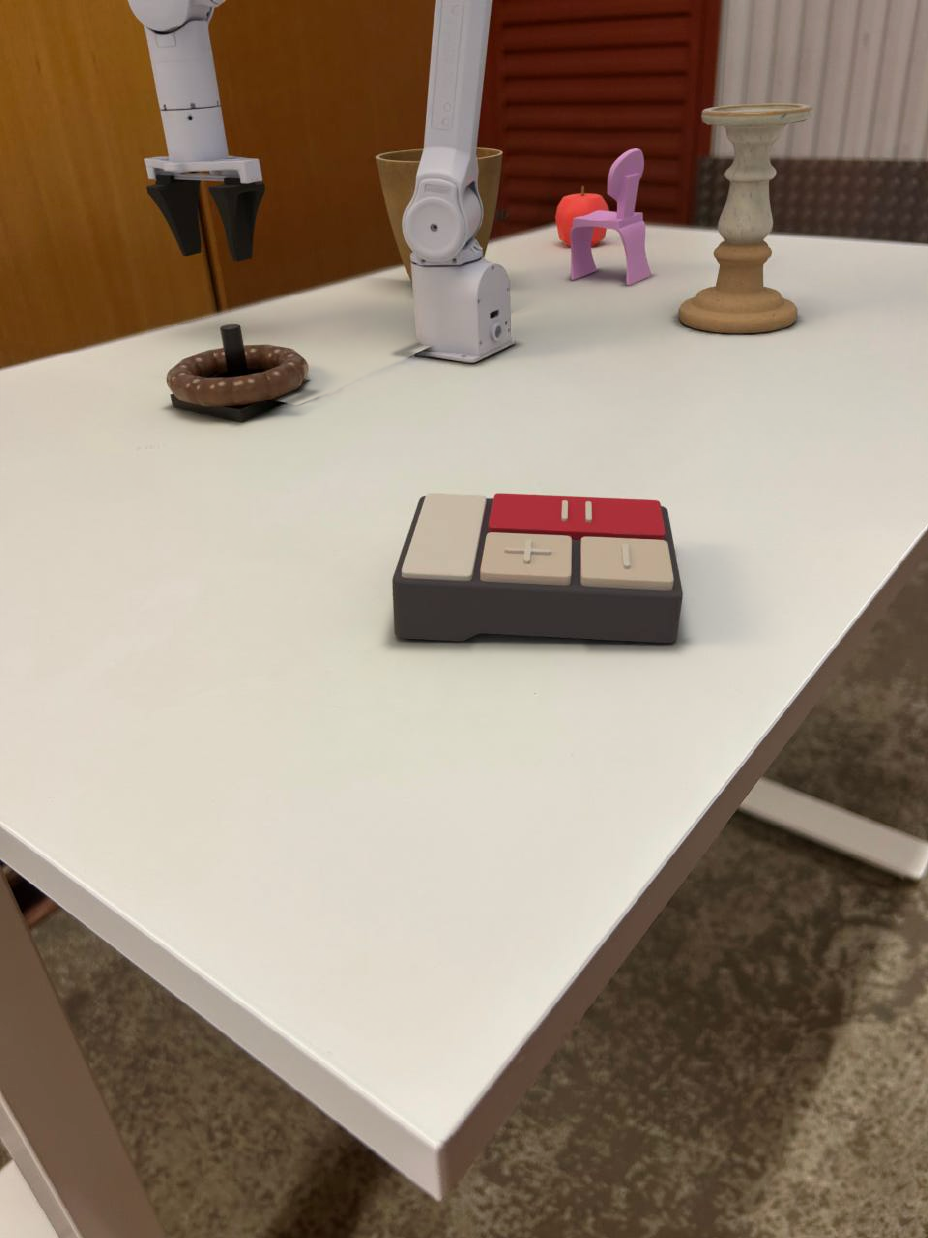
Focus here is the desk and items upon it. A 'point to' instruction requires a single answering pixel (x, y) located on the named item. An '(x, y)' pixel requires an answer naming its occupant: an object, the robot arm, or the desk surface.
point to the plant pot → (400, 187)
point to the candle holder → (745, 226)
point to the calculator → (538, 569)
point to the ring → (200, 388)
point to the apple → (579, 214)
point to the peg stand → (235, 369)
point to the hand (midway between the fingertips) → (217, 256)
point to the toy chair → (615, 221)
